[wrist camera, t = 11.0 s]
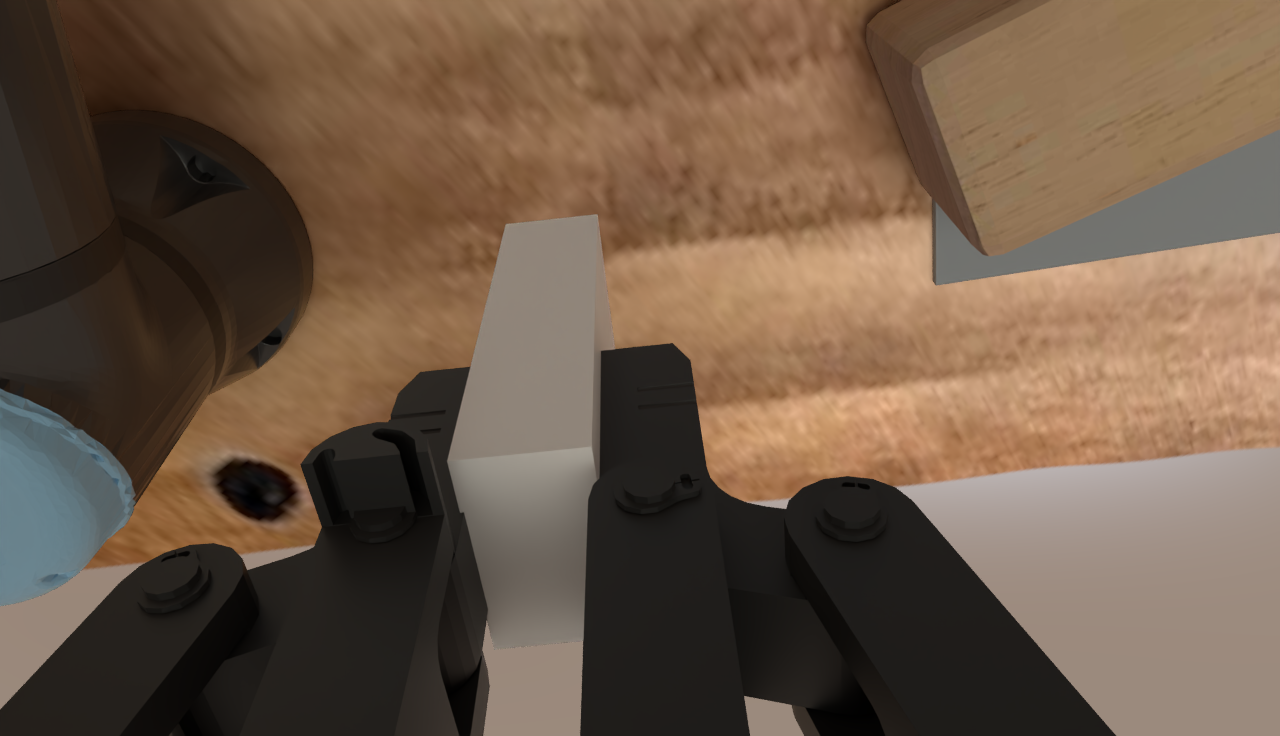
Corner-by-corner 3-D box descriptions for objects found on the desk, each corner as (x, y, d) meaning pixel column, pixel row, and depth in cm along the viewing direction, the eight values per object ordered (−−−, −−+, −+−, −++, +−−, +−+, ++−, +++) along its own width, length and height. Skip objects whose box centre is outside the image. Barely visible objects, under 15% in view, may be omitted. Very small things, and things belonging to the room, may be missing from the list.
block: (921, 193, 51) (1312, 8, 46) (985, 272, 42) (1473, 53, 38) (853, 18, 46) (1280, -205, 42) (910, 66, 37) (1454, -209, 33)
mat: (933, 280, 54) (936, 285, 53) (931, -63, 45) (935, -62, 44) (1333, 219, 53) (1341, 223, 52) (1414, -147, 44) (1424, -147, 43)
